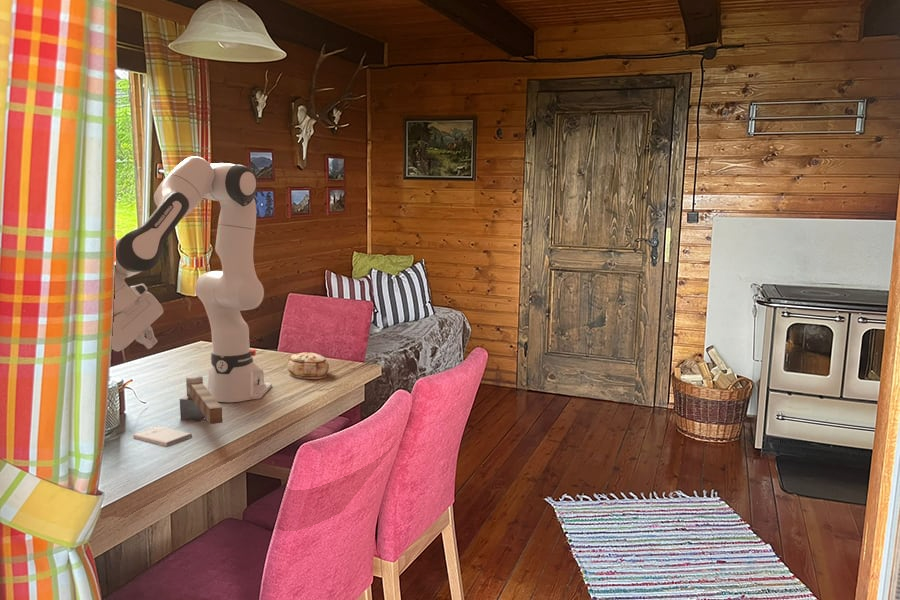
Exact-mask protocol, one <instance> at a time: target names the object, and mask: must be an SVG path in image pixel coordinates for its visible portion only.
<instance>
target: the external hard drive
mask: <svg viewBox="0 0 900 600" xmlns="http://www.w3.org/2000/svg"><path fill="white" fill-rule="evenodd" d="M132 437H133V439H135V440H140V441H143V440H144V441H145V442H147V441H148V442H149V443H151V442H152V443H151V444H155V443H156V445H159V444H160V445H159V446H163V447H166V446H167V447H169V446H171V445H174V443H175V444H178V443H179V441H180V442H182V441H185V440H188V439H190V438H192V437H193V434H192V433H190V432H186V431H185V432H184V431H181V430H178V429H172V428H168V427H164V426H163V427H162V426H159V425H158V426H155V427H151V428H148V429H145V430H142V431H139V432H136V433H134V434H132ZM189 437H190V438H189ZM187 438H188V439H187ZM184 439H185V440H184ZM148 442H147V443H148Z"/></svg>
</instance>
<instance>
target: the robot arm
mask: <svg viewBox="0 0 900 600" xmlns="http://www.w3.org/2000/svg"><path fill="white" fill-rule="evenodd" d="M257 188H258V179H257V176H256V174H255V172H254V170H252V168H251V167H248V166H246V165H243V164H240V163H239V164H234V163H226V162H225V163H224V162H219V163H210V162H208V161H207V160H206V159H205V158H203V157H200V156H189V157H187V158H185V159H184V160H183V161H181V162H180V163H179V164H177V165H176V166H175V167H173V169H172V170H171V171H170V172H169V173H168V174H167V175H166V176H165V177H164V178H163V180H162V181H161V182H160V184H159V185H158V186H157V189H156V190H155V192H154V195H153V201H154V203H155V205H156V209H155V210H154V212H153V213H151V215H150V217H148V219H147V220H146V221H145V223H144V224H143V225H142V226H140V227H139V228H136V229H135V230H132V231H129V232H128V233H126V234H124V235H123V237H121V238H119V239H118V240H116V268H115V299H114V322H113V336H112V348H111V350H113V352H121V351H122V350H125V349H126V348H128V346H129V345H130V344H132V343H133V342H134V341H135V342H137V343H139V344H142V345H144V347H145V348H146V349H147V350H150V349H152V348H153V347H154V346H155V345H156V344H157V343H158V339H157V338H156V337H155V333H154V330H153V327H152V326H151V325H152V324H153V323H155V321H156V320H158V318H160V316H162V315H163V314H164V308H163V305H162V303H161V302H159V301H158V299H157V298H156V297H155V295H153V293H151V292H149V291H148V287H147V286H146V285H145V283H139V284H135V285H130V286H129V285H128V284H127V282H126V281H125V280H126V278H131V277H132V276H134V275H138V274H140V273H142V272H145V271H149V270H152V269H154V267H155V266H157V265H158V263H159V261H160V260H161V256H162V254H163V248H164V245H165V243H166V241H167V238H169V236H170V235H171V234H172V232H173V231H174V229H175V228H176V227H177V225H178V224H179V223H180V221H182V220H183V219H185V217H187V216H188V215H190V214H191V213H192V212H193V211H194V210H195V209H196V207H197V206H199V204H200V203H201V201H202V200H206V201H207V200H211V201H214V202H218V203H219V206H220V213H219V216H218V222H217V231H216V239H215V247H214V250H215V254H216V255H217V257H218V258H219V259H220V263H221V269H222V270H212V271H208V272H203V273H202V274H200V276H199V277H198V278H197V280H196V283H195V286H194V289H195V290H194V291H195V294H196V296H197V298H198V299H199V301H201V303H202V304H203V307H204V310H205V313H206V315H207V318H208V321H209V325H210V326H209V327H210V330H211V331H210V333H211V347H212V352H211V353H210V360H211V361H210V362H211V363H210V364H211V367H210V368H209V369H208V377H207V390H208V391H209V392H210V393H211V395H212V396H213V397H214V398H215V399H216V401H217V402H218V403H237V402H245V401H249V400H259V399H261V398H263V397H264V395H265V394H266V393H267V392H268V391H269V390H270V389H271V387H272V386H273V385H272V384H273V383H271V382H268V381H265V374H264V370H263V368H262V367H260V366H259V365H258V364H256V363H255V362H254V357H253V356H256V355H257V350H256V349H251V347H250V328H249V325H248V323H247V322H246V321H245V320H244V317H243V316H242V313H241V311H250V310H254V309H256V308H258V307H259V306H260V305H261V303H262V302H263V300H264V296H265V290H264V286H263V283H261V281H260V280H259V278H258V275H257V273H256V268H255V263H254V248H255V247H254V245H255V238H256V237H255V236H256V226H257V205H256V204H257V203H256V200H255V195H256V192H257Z"/></svg>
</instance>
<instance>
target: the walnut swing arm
mask: <svg viewBox="0 0 900 600" xmlns="http://www.w3.org/2000/svg"><path fill="white" fill-rule="evenodd" d="M185 382H186V396H187V397H191V398H192V400H193V401H194V403H195V404H196V405H197V407H198V408H199V409H200V411H201V412H202V414H203V415H204V416H205V419H206V421H207V422H208V423H209V425H216V424H217V425H218V424H222V423H223V406H221V403H220V402H217V401H216V399H215V398H214V397H213V396H212V395H211V393H210V392H209V391H208V388H207V387H206V386H205V384H204V377H203V376H200V375H191V376H188V377H187V376H186V378H185Z"/></svg>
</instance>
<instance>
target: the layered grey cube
mask: <svg viewBox="0 0 900 600" xmlns="http://www.w3.org/2000/svg"><path fill="white" fill-rule="evenodd" d="M179 411H180V415H179V416H180V421H190V420H193V421H194V422H201V421H203V420H205V419H206V418H205V416H204V415H203V414H202V412H201V411H200V409H199V408H198V407H197V405H196V404H195V403H194V401H193V400H192V398H191V397H187V395H185V396H182V397H181V398H179ZM204 418H205V419H204Z"/></svg>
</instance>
